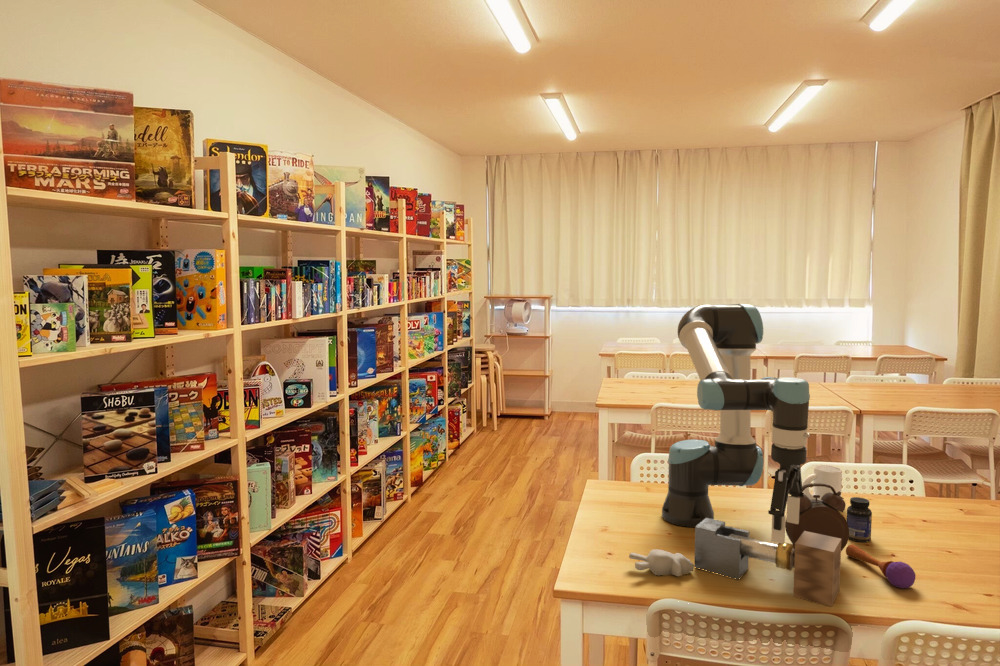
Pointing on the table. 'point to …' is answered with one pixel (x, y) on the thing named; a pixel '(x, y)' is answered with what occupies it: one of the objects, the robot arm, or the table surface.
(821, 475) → the mug
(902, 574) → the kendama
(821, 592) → the socket block
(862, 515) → the pill bottle
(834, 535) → the alarm clock
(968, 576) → the table surface
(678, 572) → the bunny figurine
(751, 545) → the tube
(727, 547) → the square shaft housing
